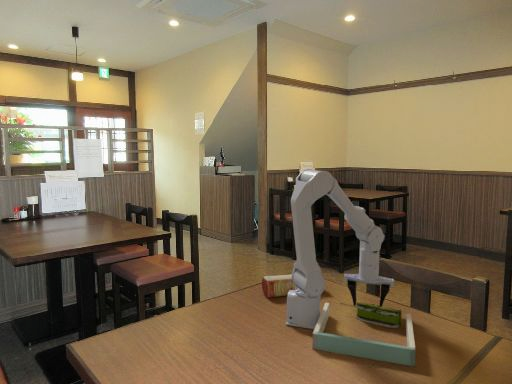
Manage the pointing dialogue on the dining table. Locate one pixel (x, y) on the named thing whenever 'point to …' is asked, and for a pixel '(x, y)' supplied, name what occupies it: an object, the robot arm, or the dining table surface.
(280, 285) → the snack package
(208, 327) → the dining table surface
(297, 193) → the robot arm
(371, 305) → the toy tank
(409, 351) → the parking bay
